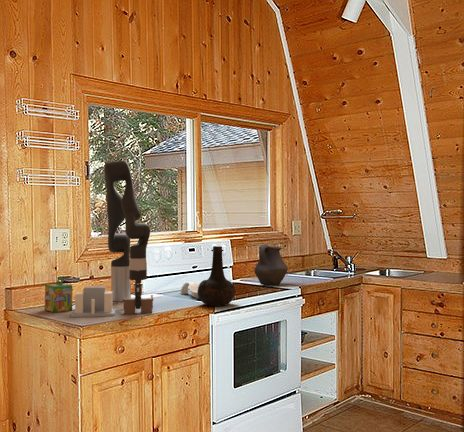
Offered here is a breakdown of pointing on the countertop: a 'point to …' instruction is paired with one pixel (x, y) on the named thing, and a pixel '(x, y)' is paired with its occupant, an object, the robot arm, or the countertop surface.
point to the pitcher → (270, 266)
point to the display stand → (93, 302)
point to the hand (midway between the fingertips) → (138, 308)
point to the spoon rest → (193, 289)
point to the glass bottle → (216, 283)
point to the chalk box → (58, 297)
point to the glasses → (131, 304)
